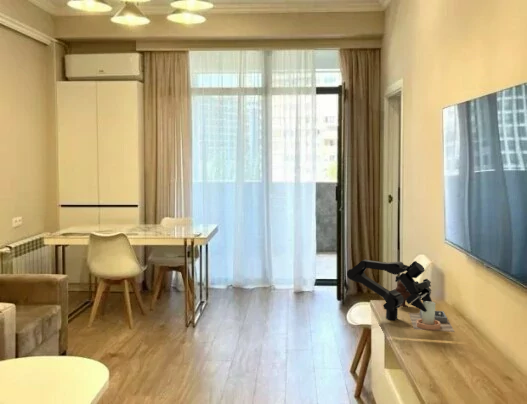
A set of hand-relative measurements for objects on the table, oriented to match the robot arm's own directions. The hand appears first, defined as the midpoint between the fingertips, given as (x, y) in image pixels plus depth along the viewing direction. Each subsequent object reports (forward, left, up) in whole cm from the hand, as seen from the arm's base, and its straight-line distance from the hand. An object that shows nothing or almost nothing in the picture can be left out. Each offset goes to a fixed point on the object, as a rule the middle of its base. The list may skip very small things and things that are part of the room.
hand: (429, 309), depth 290 cm
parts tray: (-14, +4, -8) cm, 16 cm away
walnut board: (-8, +2, -9) cm, 12 cm away
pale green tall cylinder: (0, 0, -8) cm, 8 cm away
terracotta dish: (0, 0, -8) cm, 8 cm away
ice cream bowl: (-36, -9, -10) cm, 39 cm away
